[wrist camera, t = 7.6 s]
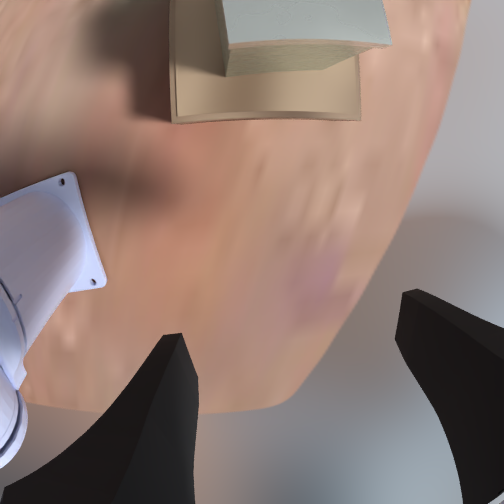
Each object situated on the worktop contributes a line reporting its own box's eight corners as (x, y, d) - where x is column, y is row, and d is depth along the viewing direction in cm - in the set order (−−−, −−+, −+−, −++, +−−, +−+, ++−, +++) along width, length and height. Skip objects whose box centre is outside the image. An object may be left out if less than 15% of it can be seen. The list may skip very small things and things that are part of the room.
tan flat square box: (181, 124, 16) (171, 123, 12) (179, -8, 12) (170, -38, 8) (332, 120, 17) (362, 120, 13) (324, -5, 13) (349, -30, 9)
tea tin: (223, 79, 12) (228, 43, 6) (211, -6, 10) (209, -76, 4) (324, 72, 12) (392, 45, 6) (309, -10, 10) (359, -68, 4)
